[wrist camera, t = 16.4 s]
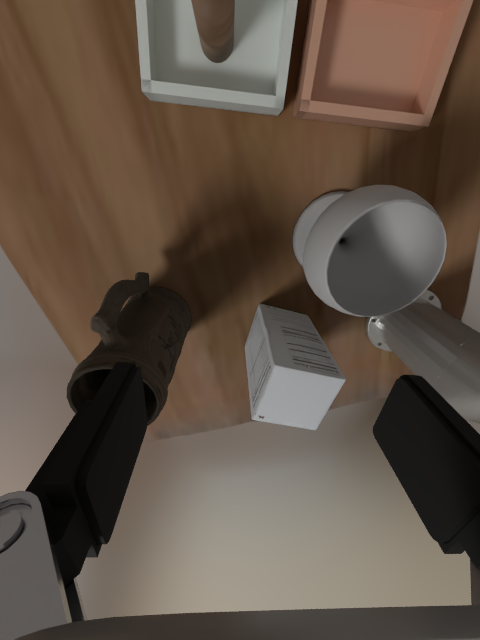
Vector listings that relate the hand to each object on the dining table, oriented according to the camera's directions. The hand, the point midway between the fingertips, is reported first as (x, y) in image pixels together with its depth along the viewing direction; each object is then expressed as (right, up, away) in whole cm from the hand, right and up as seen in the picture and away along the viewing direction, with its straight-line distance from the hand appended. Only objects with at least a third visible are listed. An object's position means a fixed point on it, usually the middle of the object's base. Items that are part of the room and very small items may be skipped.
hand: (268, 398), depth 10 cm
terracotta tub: (+13, +32, +20) cm, 40 cm away
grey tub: (-3, +33, +19) cm, 38 cm away
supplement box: (+5, +1, +37) cm, 37 cm away
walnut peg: (-4, +33, +18) cm, 38 cm away
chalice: (+13, +16, +29) cm, 35 cm away
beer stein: (-15, +6, +33) cm, 37 cm away
